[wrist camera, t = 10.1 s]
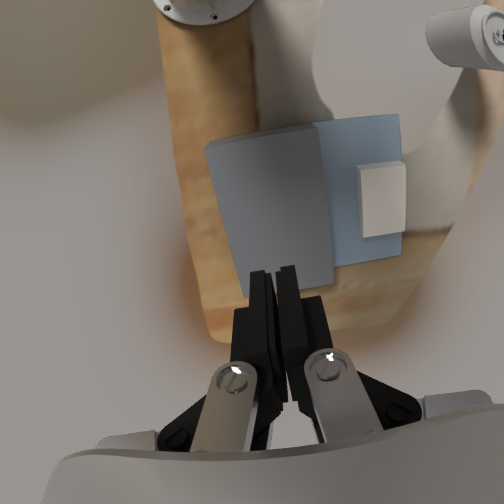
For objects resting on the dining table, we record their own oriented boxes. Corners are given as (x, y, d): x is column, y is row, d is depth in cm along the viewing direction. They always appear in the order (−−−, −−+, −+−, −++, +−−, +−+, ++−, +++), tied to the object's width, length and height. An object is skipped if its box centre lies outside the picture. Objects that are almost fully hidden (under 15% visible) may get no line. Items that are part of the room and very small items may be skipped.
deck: (209, 141, 35) (203, 148, 31) (311, 122, 34) (317, 127, 30) (245, 280, 45) (244, 298, 41) (328, 266, 44) (334, 283, 40)
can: (468, 72, 28) (529, 80, 18) (423, 61, 28) (482, 62, 18) (465, 21, 24) (525, 17, 14) (419, 8, 25) (475, -8, 14)
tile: (405, 165, 33) (399, 160, 35) (360, 170, 34) (355, 165, 36) (405, 231, 38) (399, 224, 39) (363, 237, 38) (359, 230, 40)
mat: (311, 122, 34) (311, 123, 33) (397, 114, 32) (398, 114, 32) (328, 266, 44) (329, 268, 43) (400, 253, 42) (401, 254, 42)
